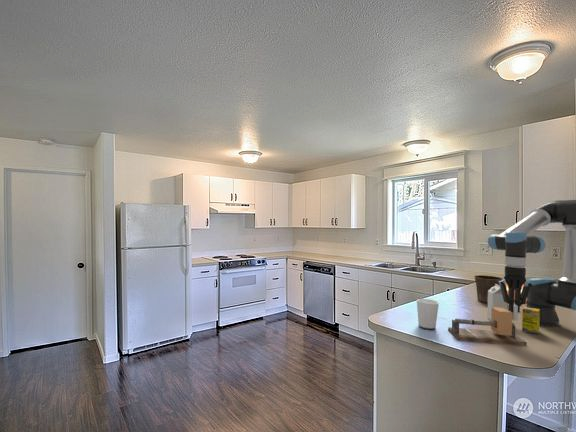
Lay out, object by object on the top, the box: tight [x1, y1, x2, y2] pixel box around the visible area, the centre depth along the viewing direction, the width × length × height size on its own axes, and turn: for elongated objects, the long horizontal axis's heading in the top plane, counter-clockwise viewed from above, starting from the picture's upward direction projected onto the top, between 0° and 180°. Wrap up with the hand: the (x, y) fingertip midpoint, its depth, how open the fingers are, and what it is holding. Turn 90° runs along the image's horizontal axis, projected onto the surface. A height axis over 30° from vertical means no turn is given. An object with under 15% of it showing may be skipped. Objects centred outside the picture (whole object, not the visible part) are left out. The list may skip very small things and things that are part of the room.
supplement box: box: [521, 306, 540, 335], centre depth 148 cm, size 6×6×11 cm
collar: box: [490, 307, 513, 336], centre depth 137 cm, size 5×7×10 cm
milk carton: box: [486, 284, 509, 321], centre depth 163 cm, size 7×7×19 cm
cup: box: [416, 298, 440, 331], centre depth 149 cm, size 10×10×13 cm
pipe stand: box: [447, 318, 527, 347], centre depth 138 cm, size 27×12×8 cm, turn 81°
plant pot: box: [473, 274, 504, 304], centre depth 203 cm, size 16×16×16 cm
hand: (513, 319), depth 136 cm, fingers closed
